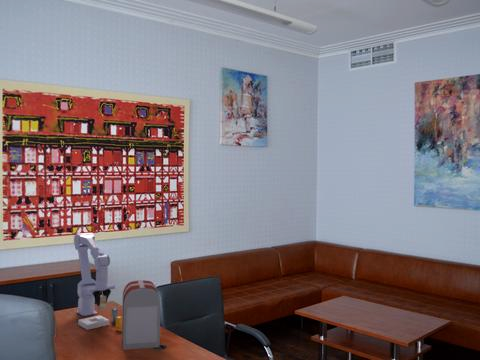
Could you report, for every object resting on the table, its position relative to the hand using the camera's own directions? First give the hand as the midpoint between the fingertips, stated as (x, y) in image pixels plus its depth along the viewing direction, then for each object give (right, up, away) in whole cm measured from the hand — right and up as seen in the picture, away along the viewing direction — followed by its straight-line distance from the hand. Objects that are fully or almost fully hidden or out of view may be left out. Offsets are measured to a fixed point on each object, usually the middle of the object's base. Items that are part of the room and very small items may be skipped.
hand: (101, 304), depth 248 cm
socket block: (-2, -9, -5) cm, 11 cm away
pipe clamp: (+17, -10, -12) cm, 23 cm away
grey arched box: (+26, -10, -26) cm, 38 cm away
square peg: (0, -3, 0) cm, 3 cm away
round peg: (+7, -9, 0) cm, 11 cm away
